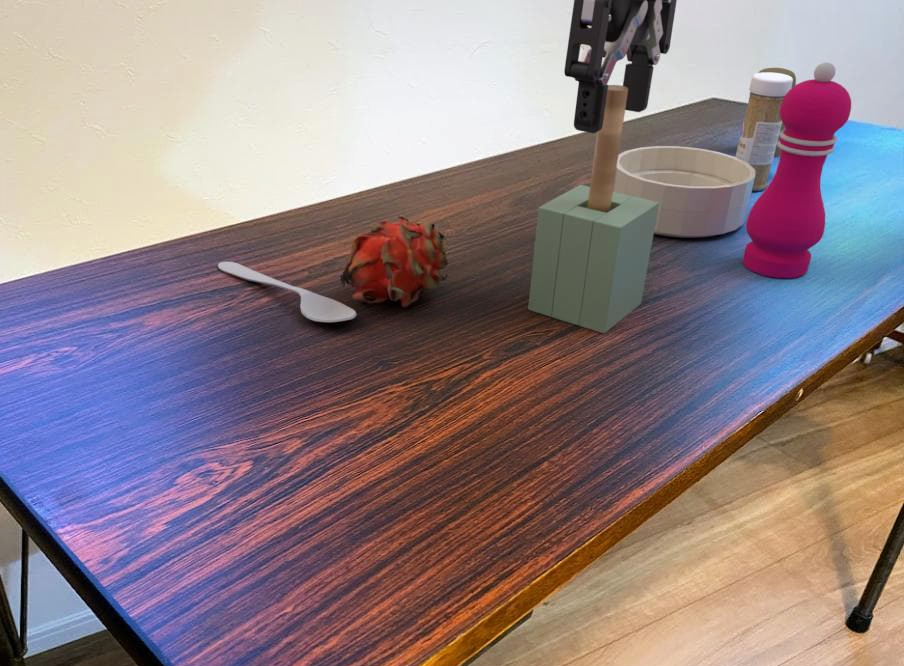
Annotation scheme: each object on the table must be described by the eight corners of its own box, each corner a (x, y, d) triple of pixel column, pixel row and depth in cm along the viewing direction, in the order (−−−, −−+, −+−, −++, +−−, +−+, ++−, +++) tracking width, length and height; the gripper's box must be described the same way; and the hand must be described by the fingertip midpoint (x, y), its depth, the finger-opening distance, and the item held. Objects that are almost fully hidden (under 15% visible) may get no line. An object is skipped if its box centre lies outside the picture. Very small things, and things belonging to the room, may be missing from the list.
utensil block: (641, 304, 86) (659, 202, 80) (604, 334, 81) (621, 227, 75) (567, 282, 90) (580, 184, 84) (527, 309, 85) (538, 207, 79)
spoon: (334, 339, 80) (334, 323, 79) (204, 269, 93) (202, 254, 92) (369, 325, 82) (369, 309, 81) (237, 258, 95) (236, 243, 94)
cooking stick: (599, 306, 85) (632, 87, 75) (589, 313, 84) (621, 91, 73) (580, 300, 86) (610, 83, 76) (570, 307, 85) (599, 88, 74)
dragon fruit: (454, 300, 90) (353, 346, 86) (410, 232, 92) (309, 274, 88) (483, 255, 82) (372, 303, 78) (434, 182, 84) (324, 225, 80)
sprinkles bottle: (725, 179, 116) (749, 70, 109) (762, 181, 116) (788, 71, 109) (732, 191, 112) (757, 79, 105) (770, 193, 112) (798, 80, 105)
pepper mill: (807, 286, 89) (868, 74, 78) (731, 272, 92) (779, 66, 81) (816, 260, 94) (873, 59, 83) (743, 248, 97) (790, 51, 86)
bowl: (762, 212, 106) (774, 162, 103) (713, 252, 96) (725, 197, 93) (640, 186, 114) (648, 138, 111) (584, 220, 104) (590, 169, 101)
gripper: (650, -94, 61) (614, 147, 69) (727, -104, 70) (687, 110, 79) (550, -99, 65) (528, 130, 73) (636, -107, 74) (607, 97, 83)
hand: (611, 120), depth 76 cm, fingers open, 8 cm apart
